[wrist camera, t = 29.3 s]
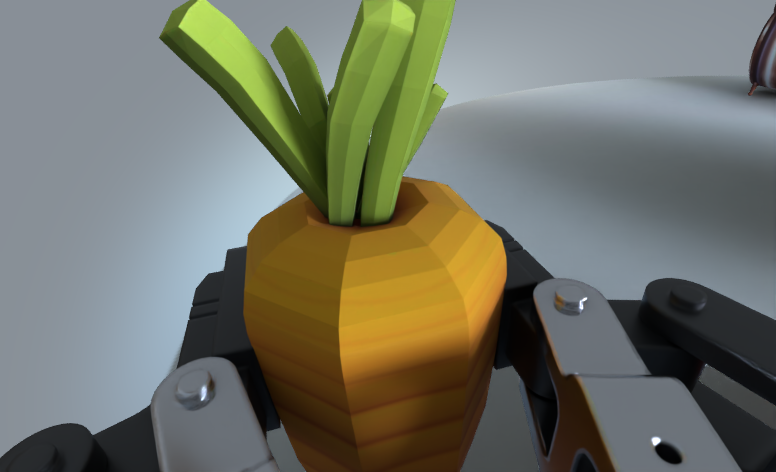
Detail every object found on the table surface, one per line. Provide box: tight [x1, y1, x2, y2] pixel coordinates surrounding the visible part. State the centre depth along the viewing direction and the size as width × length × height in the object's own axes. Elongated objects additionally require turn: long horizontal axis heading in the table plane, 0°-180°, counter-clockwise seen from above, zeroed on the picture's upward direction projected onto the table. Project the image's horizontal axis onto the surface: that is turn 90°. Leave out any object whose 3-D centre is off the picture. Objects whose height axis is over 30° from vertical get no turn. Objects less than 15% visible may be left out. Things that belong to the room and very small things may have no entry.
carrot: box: [159, 0, 507, 472], centre depth 9 cm, size 5×5×15 cm
